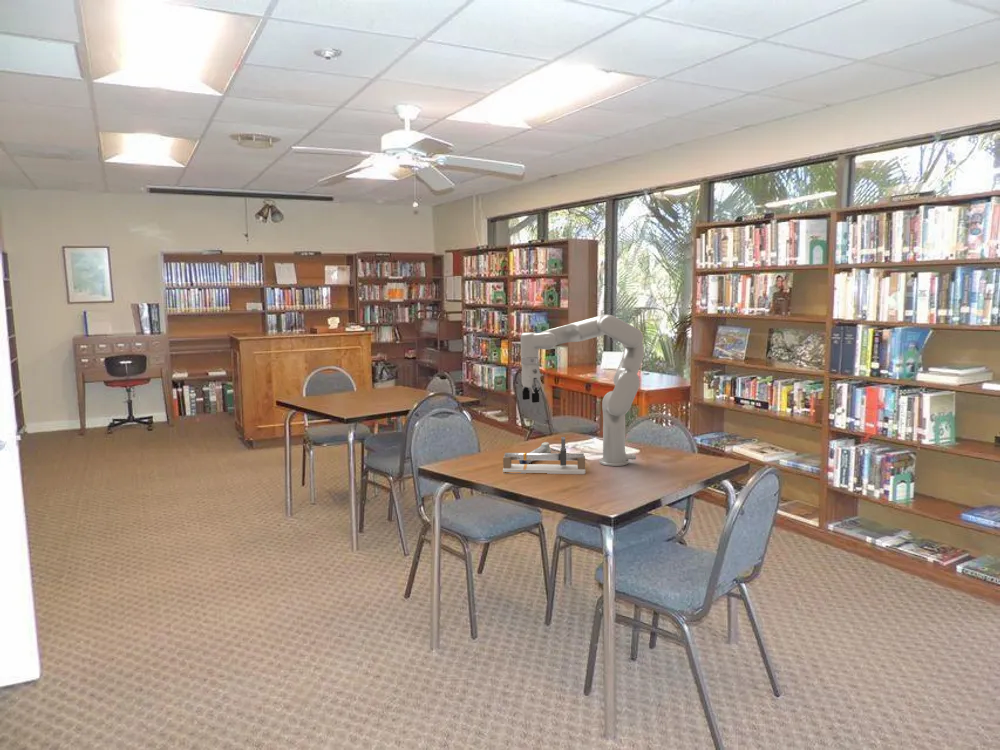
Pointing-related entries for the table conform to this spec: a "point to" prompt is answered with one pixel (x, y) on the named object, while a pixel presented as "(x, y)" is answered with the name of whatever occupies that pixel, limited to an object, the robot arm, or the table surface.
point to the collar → (562, 452)
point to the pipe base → (544, 467)
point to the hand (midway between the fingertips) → (530, 400)
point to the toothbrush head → (542, 449)
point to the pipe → (544, 456)
